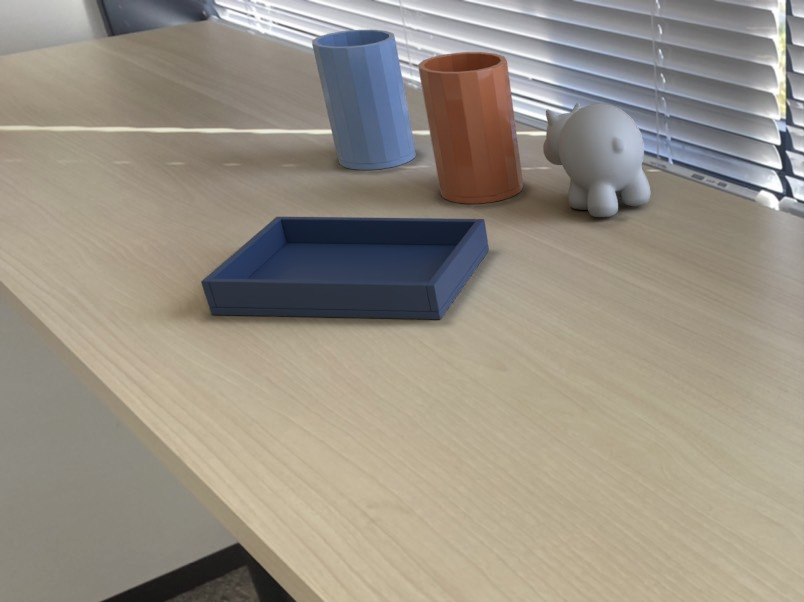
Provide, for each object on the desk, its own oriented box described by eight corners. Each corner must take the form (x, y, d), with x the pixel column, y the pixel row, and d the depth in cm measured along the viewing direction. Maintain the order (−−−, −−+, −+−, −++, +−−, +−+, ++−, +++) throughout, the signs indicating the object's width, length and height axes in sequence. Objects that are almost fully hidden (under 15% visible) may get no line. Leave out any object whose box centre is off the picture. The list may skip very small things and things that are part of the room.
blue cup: (327, 169, 111) (299, 47, 105) (354, 146, 117) (329, 29, 111) (401, 170, 110) (378, 47, 104) (425, 146, 116) (405, 29, 110)
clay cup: (430, 203, 103) (406, 73, 96) (454, 176, 109) (433, 51, 102) (511, 204, 102) (493, 73, 96) (531, 177, 108) (515, 51, 102)
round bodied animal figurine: (589, 174, 108) (580, 79, 103) (664, 207, 101) (658, 106, 96) (522, 192, 105) (509, 93, 100) (594, 227, 97) (584, 123, 92)
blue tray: (210, 315, 84) (200, 281, 83) (284, 247, 95) (276, 216, 93) (440, 319, 83) (434, 285, 81) (489, 250, 93) (484, 218, 92)
